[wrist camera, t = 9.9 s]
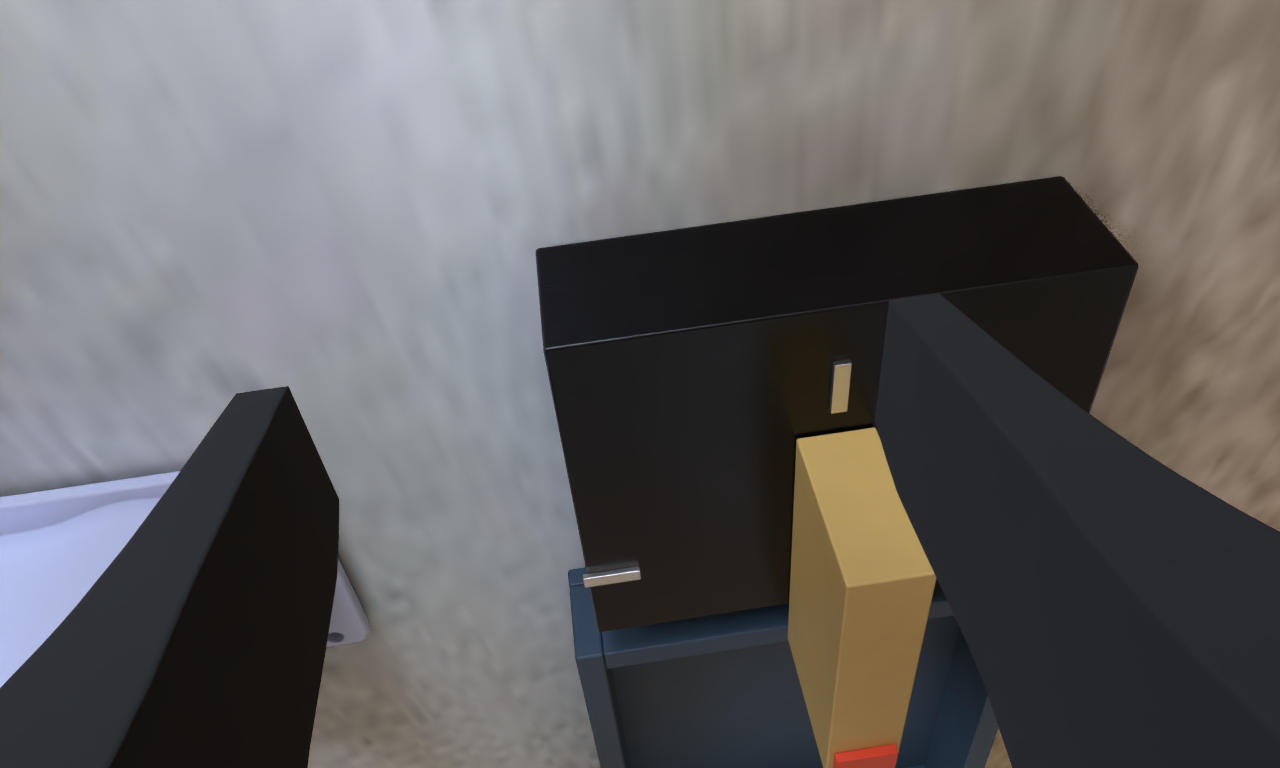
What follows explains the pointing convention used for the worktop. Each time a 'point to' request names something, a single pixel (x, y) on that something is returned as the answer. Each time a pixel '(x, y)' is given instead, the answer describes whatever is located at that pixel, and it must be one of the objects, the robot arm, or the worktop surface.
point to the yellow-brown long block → (855, 598)
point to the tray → (756, 692)
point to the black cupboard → (783, 366)
